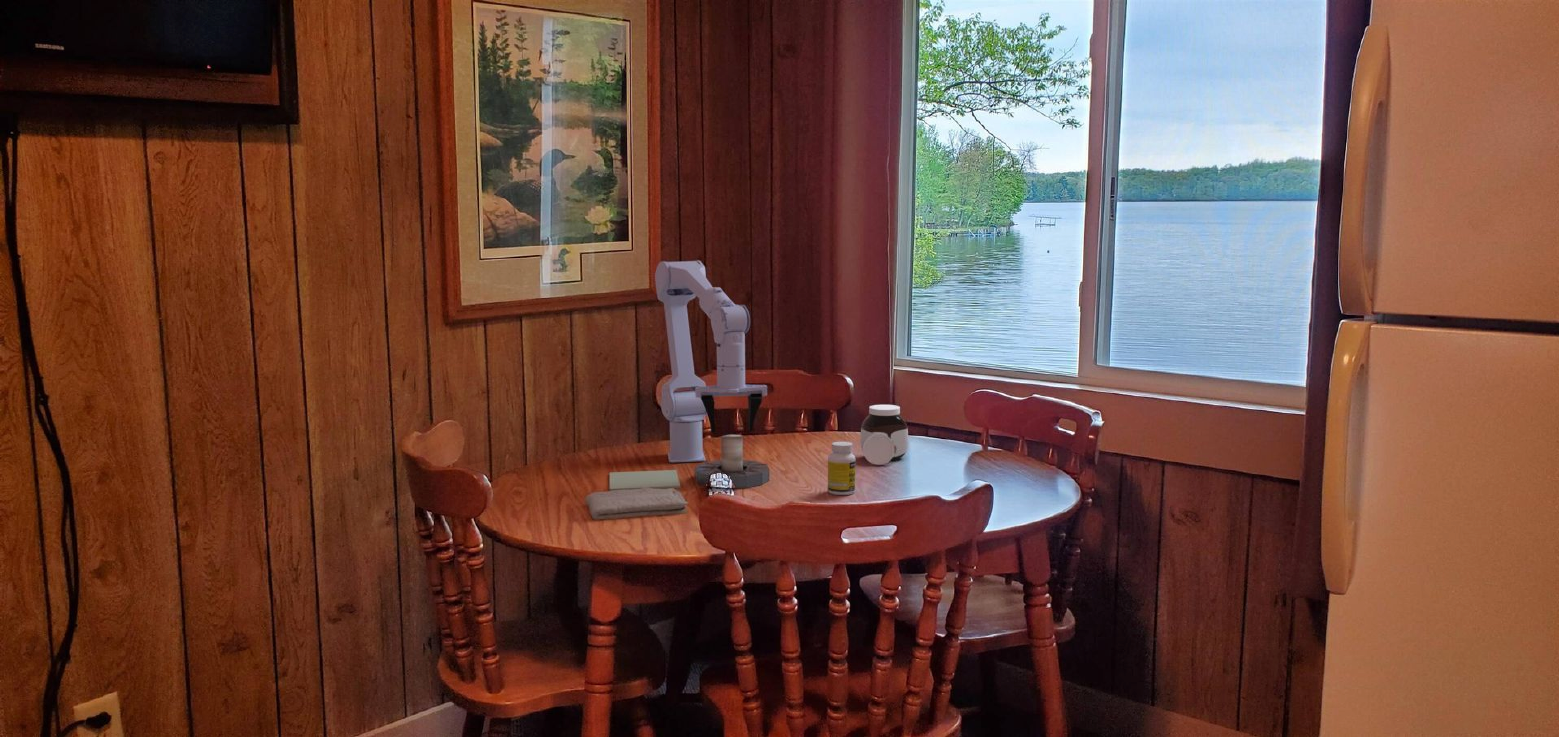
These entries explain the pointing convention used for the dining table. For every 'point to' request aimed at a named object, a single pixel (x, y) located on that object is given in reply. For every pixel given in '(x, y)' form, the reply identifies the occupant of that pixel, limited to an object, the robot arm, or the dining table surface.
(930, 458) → the dining table surface
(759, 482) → the iron collar
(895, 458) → the spread jar
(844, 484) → the supplement bottle
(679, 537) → the dining table surface
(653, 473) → the pad
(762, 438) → the dining table surface
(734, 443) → the peg
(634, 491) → the washcloth
